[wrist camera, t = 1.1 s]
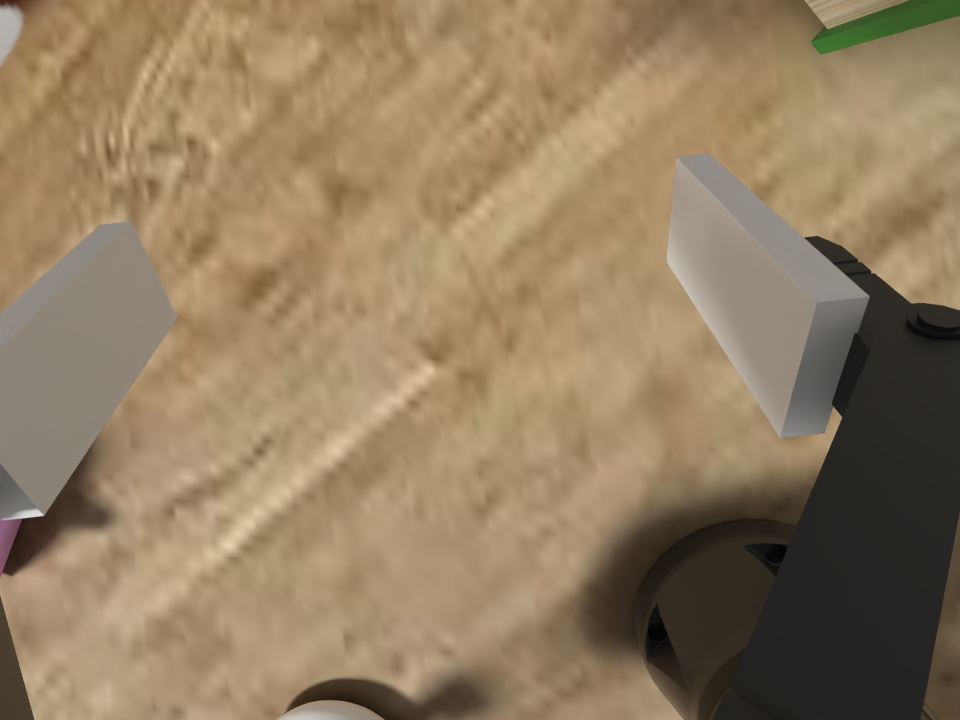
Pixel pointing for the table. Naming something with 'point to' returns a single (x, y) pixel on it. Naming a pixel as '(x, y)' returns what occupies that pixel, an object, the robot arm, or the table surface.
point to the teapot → (7, 538)
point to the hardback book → (874, 19)
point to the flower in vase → (330, 711)
